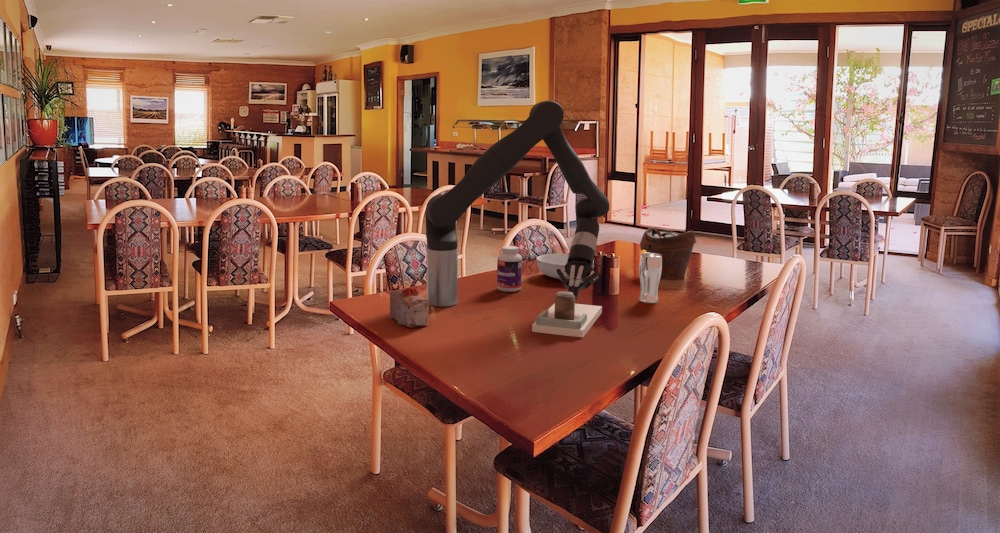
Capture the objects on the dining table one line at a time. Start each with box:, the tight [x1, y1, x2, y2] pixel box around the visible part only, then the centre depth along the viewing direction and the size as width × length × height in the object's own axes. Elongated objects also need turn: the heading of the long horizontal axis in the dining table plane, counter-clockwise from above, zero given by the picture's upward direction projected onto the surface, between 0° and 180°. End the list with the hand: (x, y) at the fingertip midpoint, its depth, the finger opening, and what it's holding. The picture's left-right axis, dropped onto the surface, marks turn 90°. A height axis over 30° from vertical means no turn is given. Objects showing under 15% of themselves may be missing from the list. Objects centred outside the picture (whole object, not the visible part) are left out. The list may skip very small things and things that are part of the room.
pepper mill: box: [554, 290, 576, 321], centre depth 198 cm, size 5×5×8 cm
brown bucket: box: [639, 227, 697, 280], centre depth 266 cm, size 18×20×18 cm
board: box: [531, 302, 603, 338], centre depth 206 cm, size 26×14×4 cm, turn 161°
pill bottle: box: [496, 245, 523, 293], centre depth 241 cm, size 8×8×14 cm
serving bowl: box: [536, 253, 595, 281], centre depth 261 cm, size 21×21×7 cm
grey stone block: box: [389, 287, 430, 329], centre depth 202 cm, size 14×8×10 cm, turn 34°
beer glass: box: [638, 252, 662, 304], centre depth 229 cm, size 7×7×15 cm
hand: (571, 299), depth 209 cm, fingers closed
